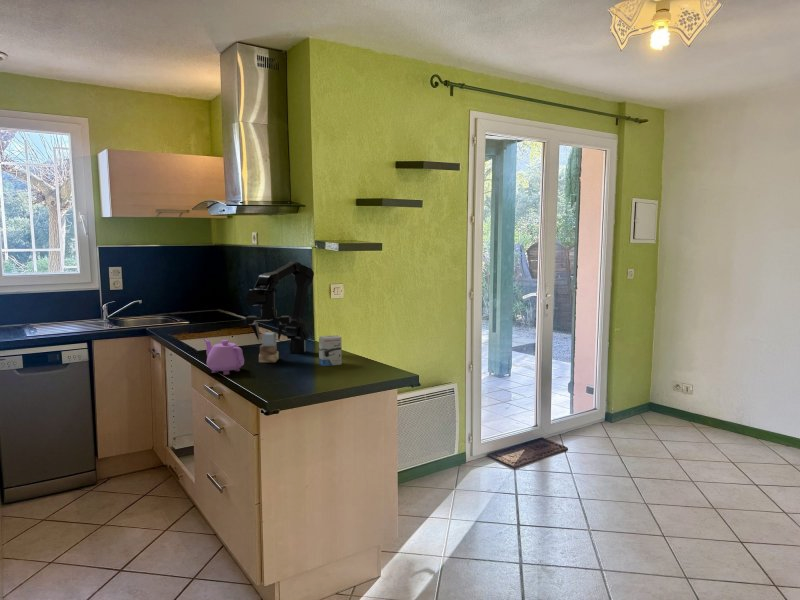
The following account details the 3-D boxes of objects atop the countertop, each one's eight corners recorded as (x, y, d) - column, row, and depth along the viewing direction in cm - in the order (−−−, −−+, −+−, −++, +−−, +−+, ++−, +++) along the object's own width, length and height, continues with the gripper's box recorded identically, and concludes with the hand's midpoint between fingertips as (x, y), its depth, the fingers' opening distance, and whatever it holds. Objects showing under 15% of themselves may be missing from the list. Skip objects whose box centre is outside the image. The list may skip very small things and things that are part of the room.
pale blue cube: (276, 343, 242) (276, 332, 241) (274, 346, 237) (273, 334, 236) (264, 343, 242) (264, 332, 241) (262, 346, 237) (262, 334, 236)
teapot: (191, 372, 219) (190, 340, 217) (218, 364, 231) (217, 335, 230) (230, 378, 210) (229, 345, 209) (255, 370, 223) (255, 339, 221)
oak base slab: (278, 359, 244) (278, 351, 243) (275, 362, 237) (275, 354, 236) (262, 359, 244) (262, 351, 243) (258, 362, 237) (258, 354, 236)
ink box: (322, 366, 229) (322, 338, 228) (318, 364, 234) (318, 336, 232) (342, 364, 233) (341, 336, 232) (337, 362, 237) (337, 334, 236)
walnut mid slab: (276, 351, 243) (276, 343, 242) (274, 354, 237) (273, 346, 236) (263, 351, 242) (262, 343, 242) (259, 354, 236) (259, 346, 236)
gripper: (292, 301, 246) (293, 336, 248) (250, 301, 245) (251, 336, 247) (288, 304, 235) (289, 341, 237) (244, 304, 234) (245, 341, 236)
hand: (268, 339), depth 239 cm, fingers open, 8 cm apart
